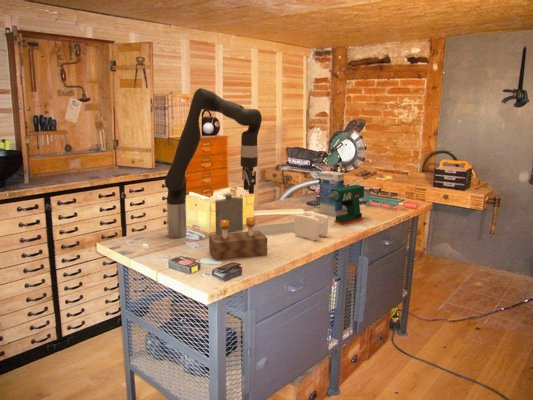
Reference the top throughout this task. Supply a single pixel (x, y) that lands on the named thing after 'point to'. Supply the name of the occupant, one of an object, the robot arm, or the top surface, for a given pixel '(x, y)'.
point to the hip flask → (229, 213)
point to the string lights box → (326, 184)
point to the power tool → (348, 202)
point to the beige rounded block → (311, 225)
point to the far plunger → (250, 226)
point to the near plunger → (224, 228)
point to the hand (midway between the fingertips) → (248, 191)
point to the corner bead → (273, 227)
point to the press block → (237, 245)
